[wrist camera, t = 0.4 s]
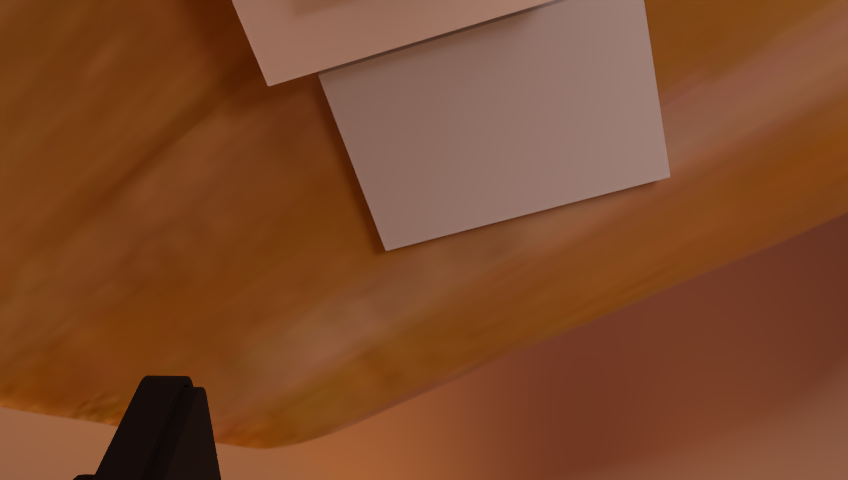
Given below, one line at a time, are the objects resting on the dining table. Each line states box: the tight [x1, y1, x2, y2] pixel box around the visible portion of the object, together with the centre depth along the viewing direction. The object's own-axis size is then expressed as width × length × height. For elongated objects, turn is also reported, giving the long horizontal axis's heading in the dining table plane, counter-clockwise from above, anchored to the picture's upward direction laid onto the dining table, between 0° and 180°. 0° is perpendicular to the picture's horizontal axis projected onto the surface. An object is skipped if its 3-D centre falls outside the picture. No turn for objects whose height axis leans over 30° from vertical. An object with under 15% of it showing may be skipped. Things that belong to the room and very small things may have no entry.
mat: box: [318, 0, 670, 251], centre depth 44 cm, size 12×18×1 cm, turn 107°
